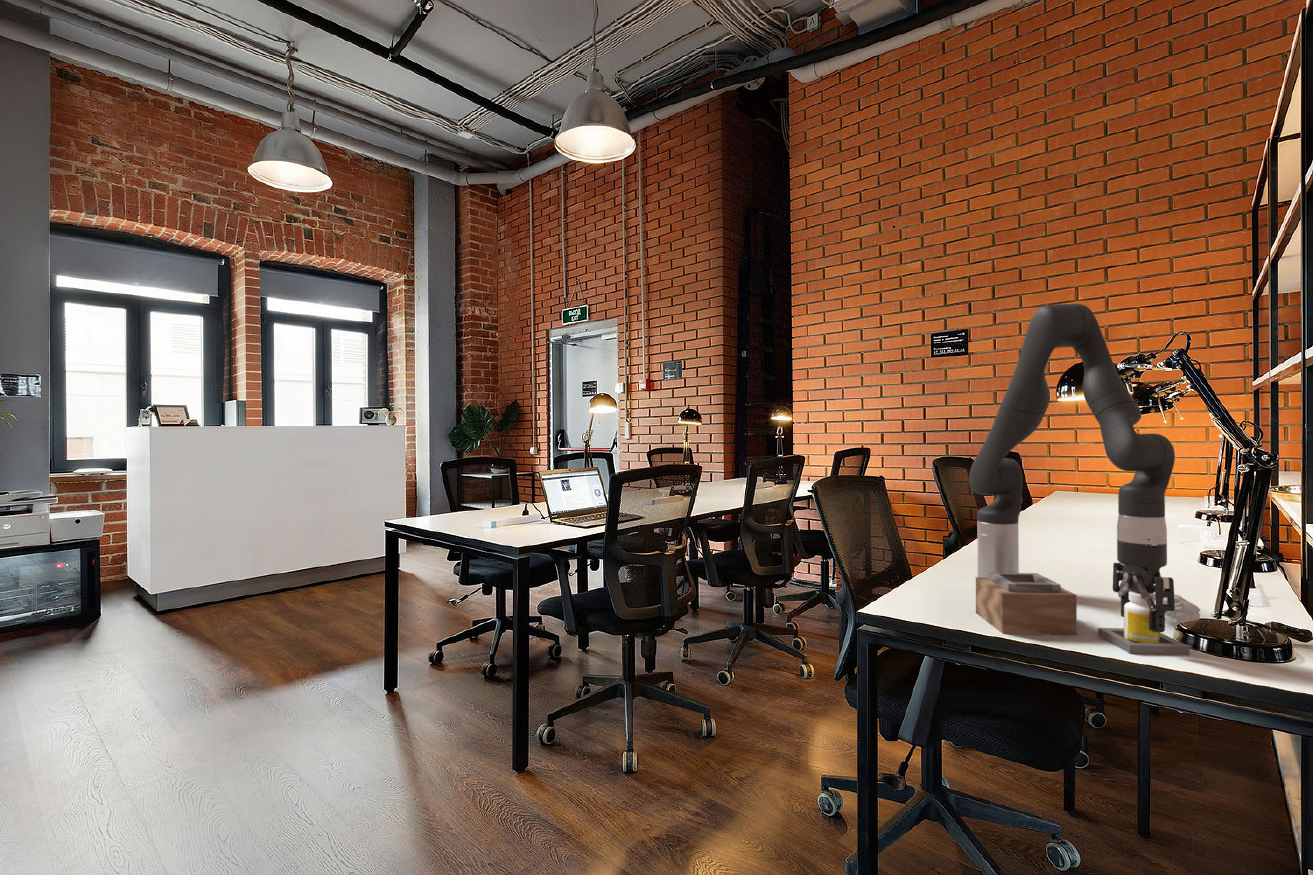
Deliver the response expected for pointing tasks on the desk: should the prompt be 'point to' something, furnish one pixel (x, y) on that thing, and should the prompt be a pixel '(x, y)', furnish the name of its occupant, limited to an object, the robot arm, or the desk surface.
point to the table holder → (1164, 647)
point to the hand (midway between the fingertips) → (1142, 624)
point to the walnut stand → (1026, 604)
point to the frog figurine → (1182, 612)
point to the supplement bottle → (1138, 620)
